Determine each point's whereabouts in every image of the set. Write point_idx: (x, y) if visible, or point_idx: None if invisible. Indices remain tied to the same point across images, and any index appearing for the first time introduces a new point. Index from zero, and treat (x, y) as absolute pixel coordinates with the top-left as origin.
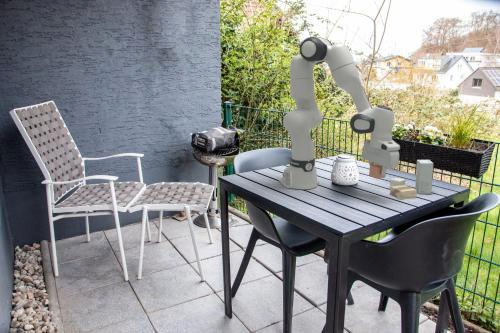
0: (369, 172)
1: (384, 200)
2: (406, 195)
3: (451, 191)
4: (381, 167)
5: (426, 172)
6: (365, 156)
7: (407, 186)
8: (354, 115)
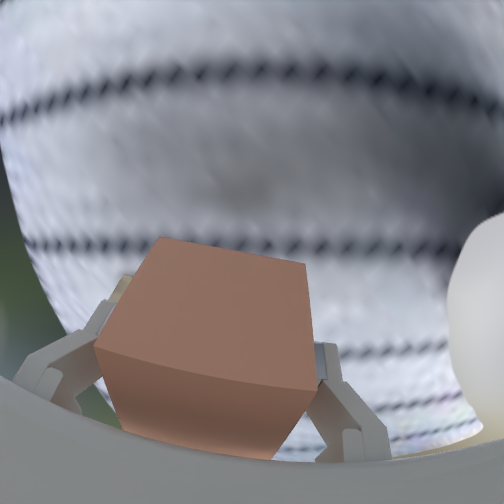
0: (304, 291)
1: (150, 190)
2: None
3: None
4: (108, 392)
5: None
6: (472, 491)
7: None
8: None
